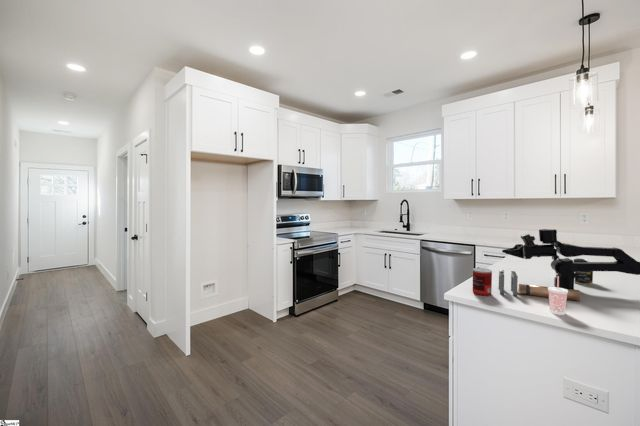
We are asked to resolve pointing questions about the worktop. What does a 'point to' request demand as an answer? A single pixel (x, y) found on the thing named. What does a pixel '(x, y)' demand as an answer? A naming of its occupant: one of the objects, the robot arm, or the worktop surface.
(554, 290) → the beverage cup
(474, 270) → the canned food
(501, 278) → the collar
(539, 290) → the brown wooden rod
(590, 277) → the medicine bottle
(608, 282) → the worktop surface
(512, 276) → the collar
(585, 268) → the robot arm
